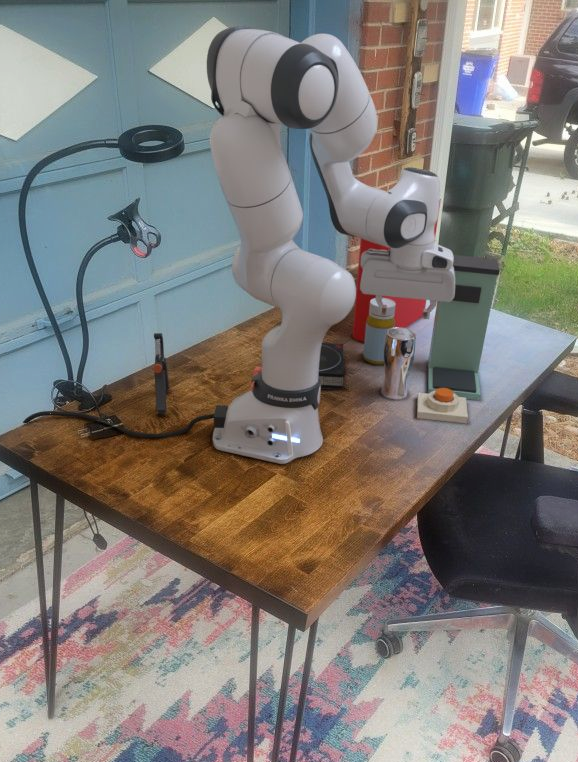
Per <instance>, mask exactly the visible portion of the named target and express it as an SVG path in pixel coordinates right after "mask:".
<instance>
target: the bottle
mask: <svg viewBox="0 0 578 762" xmlns="http://www.w3.org/2000/svg"><path fill="white" fill-rule="evenodd" d="M375 299H376V298H374V299H372V300H371V301H370V307H369V315H368V318H367V321H366V331H365V342H363V343H364V344H363V353H362V354H363V357H362V358H363V359H364V360H365V362H366V363H368V364H371V365H375V366H384V355H383V354H384V345H385V339H386V334H387V330H388V329H390V328H394V327H395V319H394V312H395V305H396V304H395V302H394V301H393V300H391V299H387V298H382V300H381V301H382V303H383V305H387V309H386V315H379V311H380V307H379V306H378V304H377V302H376V300H375Z"/></svg>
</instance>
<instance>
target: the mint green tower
mask: <svg viewBox="0 0 578 762" xmlns="http://www.w3.org/2000/svg"><path fill="white" fill-rule="evenodd" d="M453 256H454V262H453V267H454V271H455V296H454V299H453V300H452V301H450V302H444V301H437V303H436V306H435V312H434V318H433V319H434V320H433V327H432V333H431V340H430V346H429V354H428V359H427V385H428V386H427V394H429V393H430V392H432V391H436V390H437V389H438V388H447V389H450V390H452V391H453V393H455V394H456V395H457V396H458V397H465V398H466V400H472V401H473V400H474V401H480V399H481V388H480V380H479V371H480V365H481V360H482V355H483V349H484V345H485V339H486V336H487V335H486V334H487V329H488V324H489V318H490V314H491V309H492V305H493V304H492V303H493V299H494V294H495V287H496V283H497V279H498V276H500V271H501V270H500V265H499V260H498V259H497V258H489V257H480V256H479V257H478V256H469V255H459V254H453Z"/></svg>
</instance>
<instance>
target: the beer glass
mask: <svg viewBox="0 0 578 762" xmlns="http://www.w3.org/2000/svg"><path fill="white" fill-rule="evenodd" d="M416 342H417V333H416V332H415V331H414V330H413V329H410V328H408V327H405V328H402V327H394V328H390V329H388V330H387V334H386V339H385V345H384V354H383V355H384V365H383V370H384V372H383V373H384V378H383V383H382V386H381V389H380V393H381V395H382V396H383V397H384V398H387V399H388V400H389V399H390V400H403V399H405V398H406V397H407V396H408V378H409V375H410V372H411V370H412V366H413V363H414V358H415V353H416V344H417V343H416Z"/></svg>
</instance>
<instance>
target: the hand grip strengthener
mask: <svg viewBox="0 0 578 762" xmlns="http://www.w3.org/2000/svg"><path fill="white" fill-rule="evenodd" d="M153 339H154V345H155V346H154V350H155V352H154V353H155V357H154V365H153V368H152V370H153V373H154V375H153V376H154V386H155V387H154V393H155V412H156V413H157V415H158V416H166V413H167V411H168V410H167V409H168V408H167V406H168V405H167V395H168V393H169V390H170V381H169V373H168V363H167V358H166V357H165V349H164V337H163V333H161V332H154V333H153Z"/></svg>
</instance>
